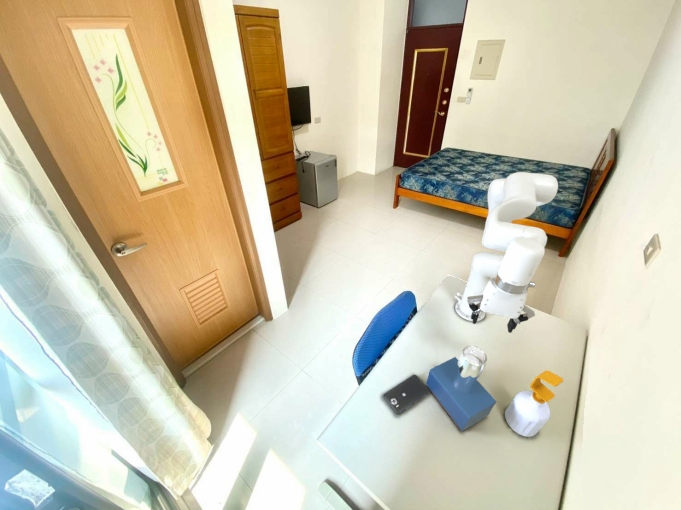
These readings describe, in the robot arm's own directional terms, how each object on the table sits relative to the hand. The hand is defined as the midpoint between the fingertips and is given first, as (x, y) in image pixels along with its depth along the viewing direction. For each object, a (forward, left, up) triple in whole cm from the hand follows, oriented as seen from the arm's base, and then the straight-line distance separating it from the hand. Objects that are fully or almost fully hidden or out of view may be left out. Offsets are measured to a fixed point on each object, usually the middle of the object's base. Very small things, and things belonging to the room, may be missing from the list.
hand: (491, 324), depth 84 cm
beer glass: (+4, -10, -19) cm, 22 cm away
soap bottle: (+18, +4, -29) cm, 35 cm away
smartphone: (-5, -23, -29) cm, 37 cm away
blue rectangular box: (+4, -10, -29) cm, 31 cm away
